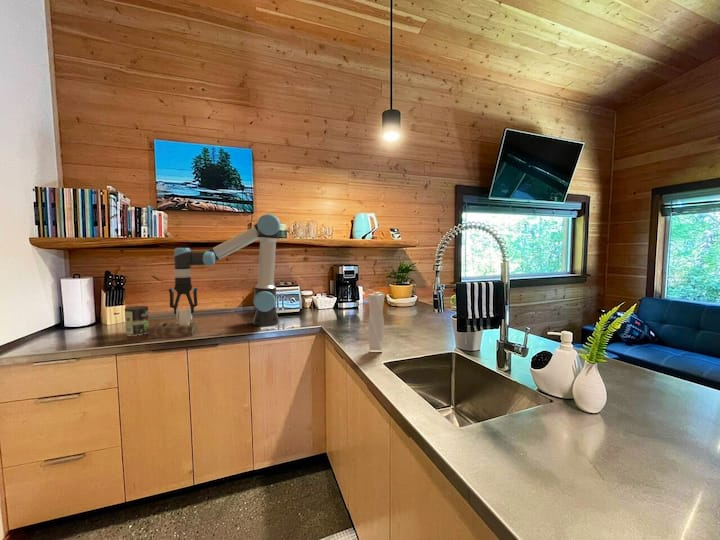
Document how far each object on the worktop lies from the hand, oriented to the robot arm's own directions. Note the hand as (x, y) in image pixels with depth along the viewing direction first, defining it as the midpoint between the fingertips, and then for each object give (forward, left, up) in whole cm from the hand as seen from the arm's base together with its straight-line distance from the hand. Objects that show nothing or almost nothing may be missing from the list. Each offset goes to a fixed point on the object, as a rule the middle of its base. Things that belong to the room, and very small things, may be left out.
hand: (184, 319), depth 171 cm
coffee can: (+24, -6, -8) cm, 26 cm away
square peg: (0, 0, -7) cm, 7 cm away
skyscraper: (-89, +56, -8) cm, 105 cm away
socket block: (+5, 0, -7) cm, 9 cm away
